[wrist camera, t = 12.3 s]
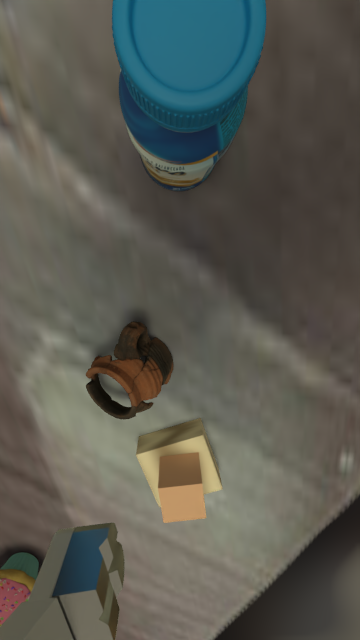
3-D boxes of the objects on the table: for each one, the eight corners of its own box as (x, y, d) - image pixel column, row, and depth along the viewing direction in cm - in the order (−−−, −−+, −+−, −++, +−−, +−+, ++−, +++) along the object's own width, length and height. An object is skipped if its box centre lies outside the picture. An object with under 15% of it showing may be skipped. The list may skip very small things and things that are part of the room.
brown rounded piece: (178, 391, 40) (145, 437, 34) (120, 369, 44) (81, 407, 37) (181, 314, 34) (142, 353, 28) (114, 296, 37) (65, 326, 31)
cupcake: (14, 587, 49) (-34, 697, 37) (-15, 552, 46) (-77, 658, 35) (61, 571, 48) (26, 677, 36) (33, 535, 46) (-14, 636, 34)
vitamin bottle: (232, 162, 32) (324, 53, 13) (168, 209, 33) (164, 172, 14) (189, 86, 30) (222, -181, 11) (122, 138, 31) (44, -20, 12)
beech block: (200, 416, 41) (203, 434, 37) (218, 466, 43) (222, 489, 40) (139, 434, 42) (136, 454, 38) (160, 483, 44) (159, 507, 40)
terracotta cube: (198, 452, 38) (202, 483, 33) (202, 483, 39) (206, 518, 34) (159, 456, 38) (158, 488, 33) (165, 487, 39) (163, 522, 34)
